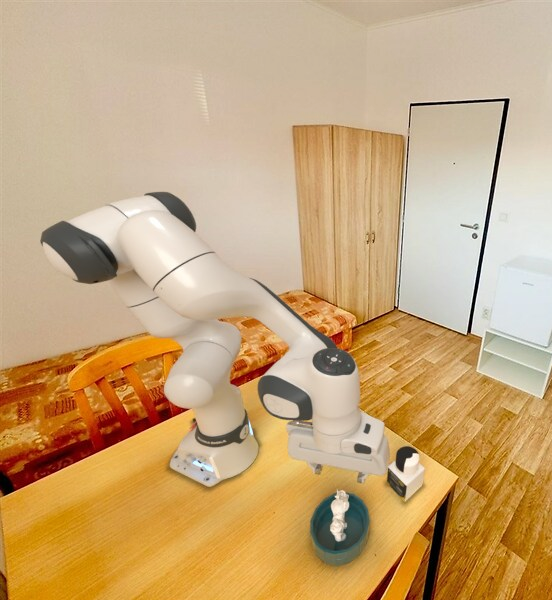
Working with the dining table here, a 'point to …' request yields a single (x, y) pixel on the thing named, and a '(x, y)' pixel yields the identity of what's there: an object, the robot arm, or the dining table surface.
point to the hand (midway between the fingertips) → (339, 475)
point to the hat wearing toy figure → (339, 515)
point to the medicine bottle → (405, 473)
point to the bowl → (355, 531)
